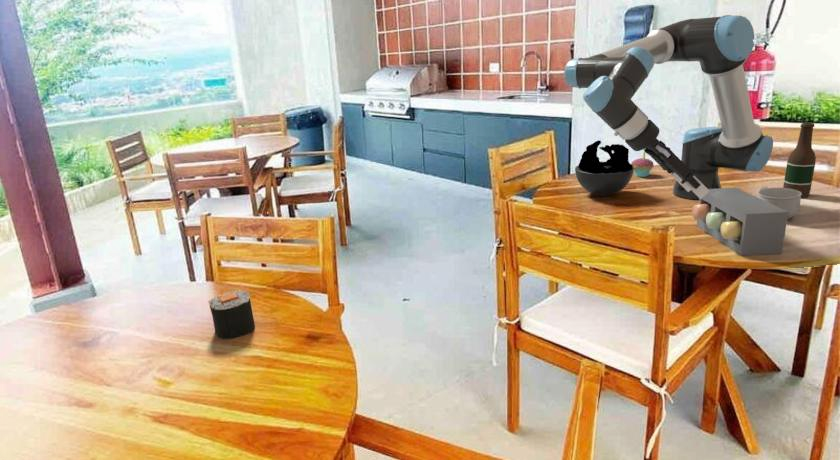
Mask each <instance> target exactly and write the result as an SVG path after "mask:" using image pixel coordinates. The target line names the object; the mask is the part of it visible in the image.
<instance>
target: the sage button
mask: <svg viewBox="0 0 840 460" xmlns="http://www.w3.org/2000/svg"><path fill="white" fill-rule="evenodd" d="M725 220H726V214H725V213H724V212H714V213H708V214H707V216H706V225H707V227H708V228H709V229H718V228H721V225H722V223H723V222H725Z"/></svg>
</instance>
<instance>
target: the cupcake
mask: <svg viewBox="0 0 840 460" xmlns="http://www.w3.org/2000/svg"><path fill="white" fill-rule="evenodd" d="M646 154H647V153H646V152H645V151H644V150H643V155H642V158H641V157H640V158H637V159H634V160H633V161H631V163H630V164H632V165H633V168H634V175H635V176H636V177H638V178H646V177H649V174H650V172H651V170H652V169H653V168H654V162H653V161H652V160H651V159H650V158H646Z"/></svg>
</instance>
